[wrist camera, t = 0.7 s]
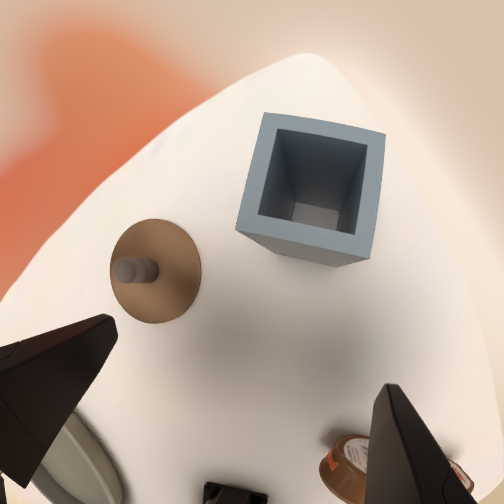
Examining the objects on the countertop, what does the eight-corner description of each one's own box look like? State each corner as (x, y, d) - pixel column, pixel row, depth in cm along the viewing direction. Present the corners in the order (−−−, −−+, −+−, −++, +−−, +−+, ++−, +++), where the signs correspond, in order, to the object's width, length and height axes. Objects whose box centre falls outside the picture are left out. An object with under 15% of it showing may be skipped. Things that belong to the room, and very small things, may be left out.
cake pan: (131, 428, 24) (107, 446, 20) (138, 536, 23) (125, 552, 19) (9, 349, 29) (-13, 353, 25) (30, 463, 28) (15, 471, 24)
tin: (317, 445, 20) (315, 507, 12) (334, 418, 20) (341, 478, 12) (440, 473, 17) (466, 521, 9) (457, 450, 17) (490, 495, 9)
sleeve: (337, 267, 21) (369, 258, 10) (274, 253, 22) (235, 229, 11) (349, 204, 22) (385, 134, 10) (288, 191, 23) (264, 112, 11)
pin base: (194, 331, 23) (164, 345, 18) (111, 310, 25) (73, 316, 20) (207, 224, 24) (180, 211, 19) (121, 217, 26) (85, 206, 20)
